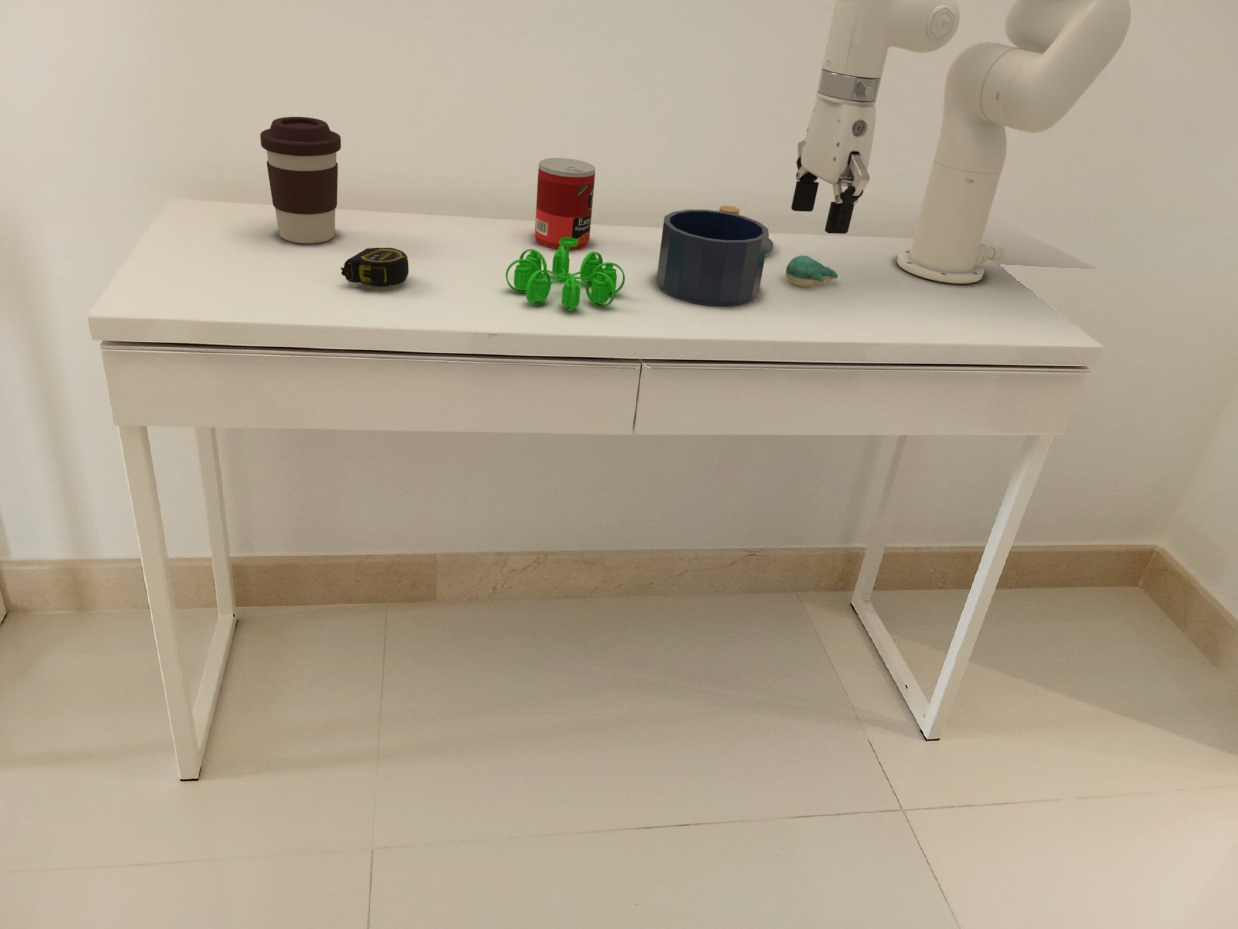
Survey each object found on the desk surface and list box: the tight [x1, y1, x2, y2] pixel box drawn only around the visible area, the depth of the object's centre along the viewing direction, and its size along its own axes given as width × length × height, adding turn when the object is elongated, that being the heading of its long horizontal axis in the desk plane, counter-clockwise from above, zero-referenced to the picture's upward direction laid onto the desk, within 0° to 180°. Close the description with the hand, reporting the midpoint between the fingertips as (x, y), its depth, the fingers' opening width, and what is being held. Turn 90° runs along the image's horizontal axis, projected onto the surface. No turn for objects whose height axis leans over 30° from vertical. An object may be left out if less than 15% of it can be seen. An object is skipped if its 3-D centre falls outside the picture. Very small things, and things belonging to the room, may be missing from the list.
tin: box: [656, 208, 770, 308], centre depth 130 cm, size 14×14×8 cm
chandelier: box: [505, 237, 626, 312], centre depth 124 cm, size 15×15×7 cm
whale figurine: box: [785, 254, 839, 288], centre depth 137 cm, size 6×7×4 cm
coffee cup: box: [259, 116, 342, 244], centre depth 131 cm, size 10×10×15 cm
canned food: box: [534, 157, 596, 251], centre depth 140 cm, size 8×8×11 cm
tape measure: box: [340, 247, 410, 288], centre depth 121 cm, size 7×7×4 cm
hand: (818, 221), depth 133 cm, fingers open, 9 cm apart
